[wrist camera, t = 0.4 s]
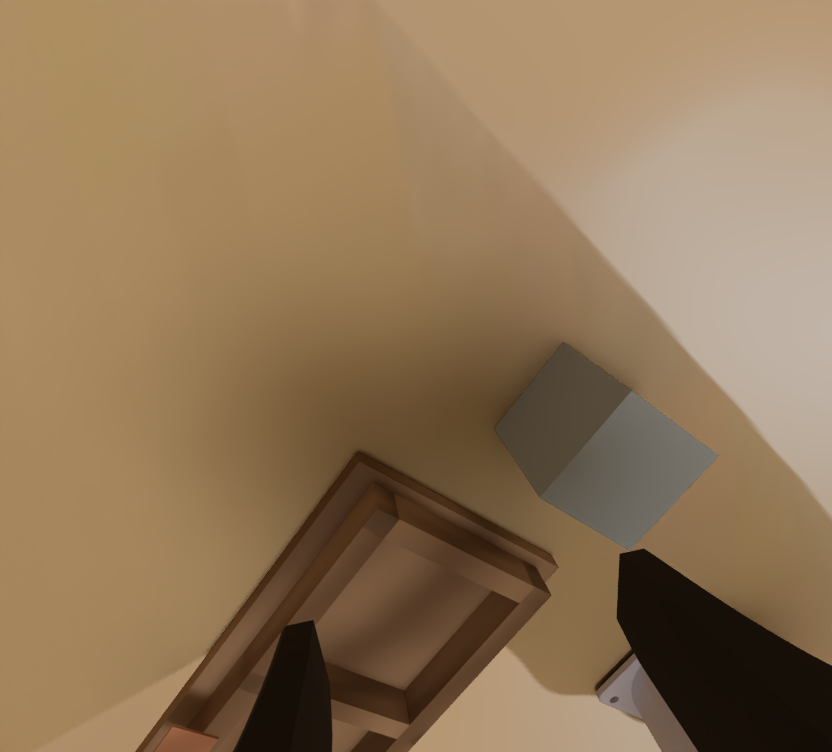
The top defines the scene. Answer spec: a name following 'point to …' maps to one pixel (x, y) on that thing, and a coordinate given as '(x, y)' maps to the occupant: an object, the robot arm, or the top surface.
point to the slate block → (600, 448)
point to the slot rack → (370, 616)
